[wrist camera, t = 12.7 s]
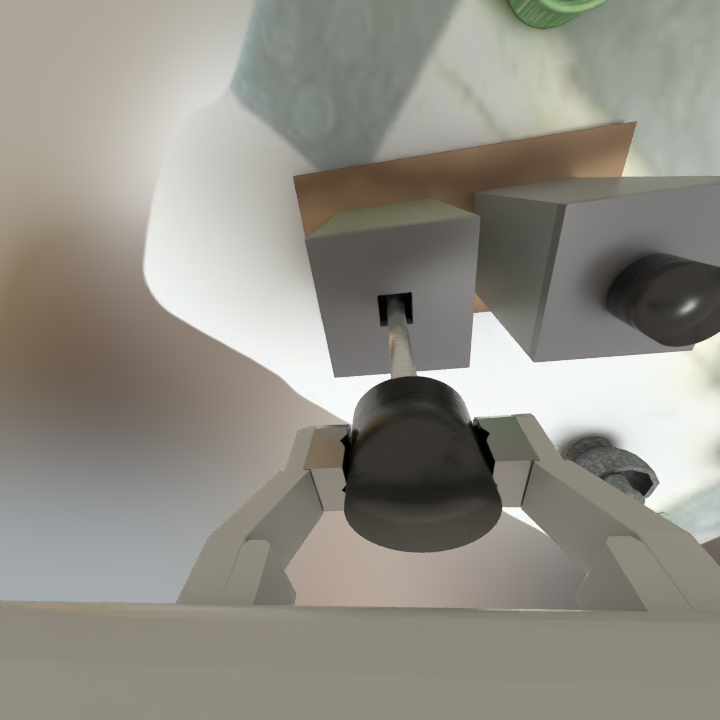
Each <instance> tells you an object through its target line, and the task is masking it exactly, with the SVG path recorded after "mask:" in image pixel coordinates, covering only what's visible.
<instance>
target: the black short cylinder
mask: <svg viewBox="0 0 720 720" xmlns="http://www.w3.org/2000/svg"><path fill="white" fill-rule="evenodd" d="M606 306H607V309H608V311H609V312H610V314H611V315H612V316H614V317H615V318H617V319H619V320H620V321H622V322H624V323H626V324H627V325H629V326H631V327H632V328H634V329H636V330H637V331H639V332H641V333H643V334H644V335H646V336H648V337H649V338H651V339H653V340H654V341H656V342H658V343H660V344H662V345H665V346H669V347H682V346H688V345H692V344H695V343H698V342H701V341H704V340H706V339H708V338H710V337H712V336H714V335H715V334H717V333H718V332H720V267H718V266H714V265H710V264H706V263H702V262H698V261H694V260H691V259H687V258H683V257H679V256H675V255H671V254H664V253H662V254H653V255H649V256H646V257H644V258H641V259H639V260H637V261H635V262H634V263H632V264H630V265H629V266H628V267H626V268H625V269H622V272H621V273H620V274H619V275H618V276H617V277H616V278H615V279H614V281H613V282H612V284H611V286H610V288H609V290H608V292H607V296H606Z"/></svg>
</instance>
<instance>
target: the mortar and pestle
mask: <svg viewBox="0 0 720 720" xmlns="http://www.w3.org/2000/svg"><path fill="white" fill-rule="evenodd" d="M568 457H569V458H570V460H571V461H572V462H574V463H576V464H577V465H579V466H581V467H582V468H584V469H586V470H587V471H589V472H590V473H592V474H594V475H595V476H597V477H599V478H600V479H602V480H603V481H605V482H607V483H608V484H610V485H612V486H613V487H615V488H617V489H618V490H620V491H621V492H623V493H625V494H626V495H628V496H630V497H631V498H633V499H634V500H636V501H638V502H639V503H641V504H643V505H644V503H645V498H647V497H649V496H650V495H651V494H652V492H653V491H654V490H655V488H656V487H657V486H658V484H659V481H658V479H657V477H656V474H655V472H654V471H653V470H652V469H651V467H650V466H649V465H648V464H647V463H646V462H644V461H643V460H642V459H641V458H639V457H638V456H637V455H635V454H633V453H630V452H628V451H626V450H622V449H618V448H614V447H612V446H611V444H610V443H609V442H608V440H607V439H602V438H598V437H593V438H588V439H583V440H581V441H579V442H577V443H576V444H574V445H573V446H571V448H570V450H569V452H568Z"/></svg>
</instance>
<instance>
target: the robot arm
mask: <svg viewBox="0 0 720 720" xmlns="http://www.w3.org/2000/svg"><path fill="white" fill-rule="evenodd" d="M473 426H474V429H475V431H476V434H477V437H478V439H479V442H480V445H481V447H482V450H483V452H484V455H485V458H486V460H487V463H488V466H489V468H490V471H491V473H492V476H493V479H494V481H495V484H496V487H497V489H498V492H499V494H500V497H501V500H502V507H522V508H521V509H522V510H523V511H524V512H525V513H526V514H527V515H528V516H529V517H530V518H531V519H532V520H533V521H534V522H535V523H536V524H537V525H538V526H539V527H540V528H541V529H542V530H543V531H544V532H545V533H546V534H547V535H548V536H550V537H551V538H552V539H553V540H554V541H555V542H556V543H557V544H558V545H559V546H560V547H561V548H562V549H563V550H564V551H565V552H566V553H567V554H568V555H569V556H570V557H571V558H572V559H573V560H574V561H575V562H576V563H577V564H578V565H579V566H580V567H581V568H582V569H583V570H584V571H585V572H586V573H587V576H586V578H585V580H584V581H583V583H582V585H581V587H580V588H579V590H578V592H577V594H576V596H575V598H576V600H577V602H578V604H579V606H580V608H581V610H538V609H535V610H534V609H479V608H473V609H472V608H421V607H419V608H418V607H363V606H361V607H360V606H303V605H299V606H298V605H294V603H295V598H296V592H295V590H294V589H293V587H292V585H291V583H290V581H289V579H288V577H287V575H286V574H285V572H284V570H285V568H286V567H287V565H288V564H289V562H290V561H291V559H292V558H293V557H294V555H295V554H296V552H297V551H298V549H299V548H300V546H301V545H302V543H303V542H304V540H305V539H306V538H307V536H308V535H309V533H310V532H311V531H312V529H313V528H314V526H315V525H316V523H317V522H318V520H319V519H320V517H321V516H322V515H323V511H341V510H344V501H345V492H346V483H347V473H348V464H349V455H350V446H351V436H352V432H351V428H350V425H321V426H320V425H318V426H301V427H300V429H299V430H298V432H297V435H296V438H295V441H294V444H293V447H292V450H291V453H290V456H289V459H288V462H287V465H286V468H285V471H279V472H278V473H277V474H276V475H275V476H274V477H273V478H272V479H271V480H270V481H268V482H267V483H266V484H265V485H264V486H263V487H262V488H261V489H260V490H259V491H258V492H257V493H256V494H255V495H253V496H252V497H251V498H250V499H249V500H248V501H247V502H246V503H245V504H244V505H243V506H242V507H241V508H239V509H238V510H237V511H236V512H235V513H234V514H233V515H232V516H231V517H230V518H229V519H228V520H227V521H226V522H224V523H223V524H222V525H221V526H220V527H219V528H218V529H217V530H216V531H215V532H214V533H213V534H212V535H210V536H209V537H208V538H207V540H206V543H205V544H204V546H203V548H202V551H201V553H200V555H199V557H198V559H197V561H196V563H195V565H194V567H193V569H192V571H191V573H190V575H189V577H188V579H187V582H186V584H185V586H184V588H183V590H182V592H181V594H180V596H179V598H178V600H177V602H176V603H122V602H121V603H120V602H63V601H60V602H58V601H2V600H1V601H0V720H720V567H719V566H718V564H717V563H716V562H715V561H714V560H713V559H712V558H711V557H710V555H709V554H708V553H707V552H706V551H705V550H704V549H703V547H702V546H701V545H700V544H699V543H698V542H697V540H696V539H695V538H694V537H693V536H692V535H691V534H690V533H688V532H687V531H685V530H683V529H682V528H680V527H679V526H677V525H675V524H674V523H672V522H670V521H669V520H667V519H666V518H664V517H662V516H661V515H659V514H657V513H656V512H654V511H652V510H651V509H649V508H648V507H646V506H644V505H643V504H641V503H639V502H638V501H636V500H634V499H633V498H631V497H630V496H628V495H626V494H625V493H623V492H621V491H620V490H618V489H617V488H615V487H613V486H612V485H610V484H608V483H607V482H605V481H603V480H602V479H600V478H599V477H597V476H595V475H594V474H592V473H590V472H589V471H587V470H586V469H584V468H582V467H581V466H579V465H577V464H576V463H574V462H572V461H571V460H563V459H562V457H561V456H560V454H559V453H558V451H557V450H556V448H555V447H554V445H553V444H552V442H551V441H550V439H549V438H548V436H547V435H546V433H545V432H544V430H543V429H542V427H541V426H540V424H539V423H538V421H537V420H536V418H535V417H534V416H533V415H532V414H516V415H502V416H487V417H475V418H474V420H473Z"/></svg>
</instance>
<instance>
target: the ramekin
mask: <svg viewBox="0 0 720 720" xmlns="http://www.w3.org/2000/svg"><path fill="white" fill-rule="evenodd" d="M605 1H607V0H509V2H510V4H511V6H512V8H513V10H514V12H515V13H516V14H517V16H518V17H519V18H520V19H521V20H522V21H524V22H525V23H526V24H528V25H530V26H533V27H537V28H549V27H555V26H557V25H561V24H564V23H566V22H567V21H569V20H571V19H573V18H575V17H576V16H578V15H579V14H581V13H583V12H586V11H589V10H591V9H593V8H595V7H597V6H599V5H601V4H602V3H604V2H605Z"/></svg>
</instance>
